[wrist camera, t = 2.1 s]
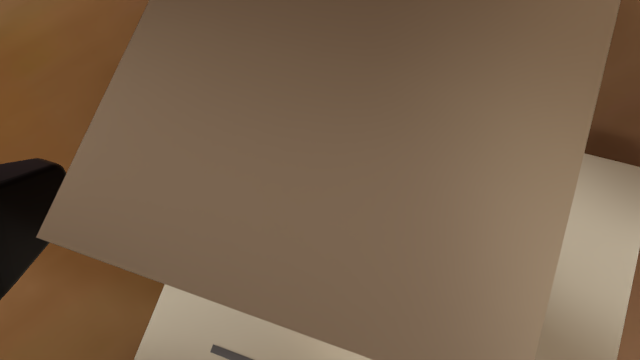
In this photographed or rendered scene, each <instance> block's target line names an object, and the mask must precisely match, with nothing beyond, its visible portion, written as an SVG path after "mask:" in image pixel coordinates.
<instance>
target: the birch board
mask: <svg viewBox="0 0 640 360" xmlns="http://www.w3.org/2000/svg"><path fill="white" fill-rule="evenodd" d="M639 248H640V167H638V166H634V165H629V164H625V163H621V162H617V161H613V160H609V159H605V158H601V157H597V156H593V155H589V154H585V153H584V156H583V160H582V164H581V169H580V173H579V177H578V181H577V185H576V189H575V194H574V198H573V202H572V206H571V210H570V214H569V219H568V223H567V227H566V231H565V235H564V239H563V244H562V248H561V252H560V256H559V260H558V264H557V269H556V273H555V277H554V281H553V285H552V289H551V294H550V298H549V302H548V306H547V310H546V314H545V319H544V323H543V327H542V331H541V335H540V339H539V344H538V348H537V352H536V356H535V360H617V356H618V351H619V346H620V341H621V336H622V331H623V327H624V322H625V317H626V312H627V307H628V302H629V297H630V292H631V288H632V283H633V278H634V273H635V268H636V263H637V258H638V253H639ZM134 360H372V359H370V358H367V357H364V356H361V355H359V354H356V353H353V352H350V351H348V350H345V349H342V348H339V347H337V346H334V345H331V344H328V343H325V342H323V341H320V340H317V339H314V338H312V337H309V336H306V335H303V334H301V333H298V332H295V331H292V330H290V329H287V328H284V327H281V326H279V325H276V324H273V323H270V322H268V321H265V320H262V319H259V318H257V317H254V316H251V315H248V314H246V313H243V312H240V311H237V310H235V309H232V308H229V307H226V306H224V305H221V304H218V303H215V302H213V301H210V300H207V299H204V298H202V297H199V296H196V295H193V294H191V293H188V292H185V291H182V290H180V289H177V288H174V287H171V286H169V285H166V284H165V285H164V288H163V290H162V293H161V295H160V297H159V300H158V302H157V305H156V307H155V310H154V312H153V314H152V317H151V319H150V322H149V324H148V327H147V329H146V331H145V334H144V336H143V339H142V341H141V344H140V346H139V348H138V351H137V353H136V356H135V358H134Z"/></svg>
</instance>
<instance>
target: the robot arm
mask: <svg viewBox="0 0 640 360" xmlns="http://www.w3.org/2000/svg"><path fill="white" fill-rule="evenodd" d="M65 176H66V172H65V170H64V168H63V167H62V166H61V165H59V164H57V163H53V162H50V161H47V160H44V159H39V158H35V159H29V160H23V161H17V162H11V163H5V164H0V300H1V298H2V297H3V296H4V295H5V294H6V293H7V292H8V291H9V290H10V289H11V288H12V286H13V285H14V284H15V283H16V282H17V281H18V279H19V278H20V277H21V276H22V275H23V274H24V272H25V271H26V270H27V269H28V268H29V266H30V265H31V264H32V263H33V262H34V260H35V259H36V258H37V257H38V256H39V254H40V253H41V252H42V251H43V250H44V249H45V247H46V246H47V245H48V244H49V243H50V242H47V241H45V240H42V239H39V238H36V236H37V234H38V232H39V230H40V228H41V226H42V224H43V222H44V220H45V218H46V216H47V213H48V211H49V209H50V207H51V205H52V203H53V201H54V199H55V197H56V195H57V193H58V190H59V188H60V186H61V184H62V182H63V180H64V178H65Z"/></svg>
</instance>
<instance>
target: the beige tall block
mask: <svg viewBox="0 0 640 360" xmlns="http://www.w3.org/2000/svg"><path fill="white" fill-rule="evenodd" d="M620 2H621V0H149V2H148V4H147V7H146V9H145V11H144V13H143V15H142V17H141V19H140V21H139V23H138V25H137V27H136V29H135V32H134V34H133V36H132V38H131V40H130V42H129V44H128V46H127V48H126V50H125V52H124V55H123V57H122V59H121V61H120V63H119V65H118V67H117V69H116V71H115V73H114V75H113V78H112V80H111V82H110V84H109V86H108V88H107V90H106V92H105V94H104V96H103V98H102V101H101V103H100V105H99V107H98V109H97V111H96V113H95V115H94V117H93V119H92V121H91V124H90V126H89V128H88V130H87V132H86V134H85V136H84V138H83V140H82V142H81V144H80V147H79V149H78V151H77V153H76V155H75V157H74V159H73V161H72V163H71V165H70V167H69V170H68V172H67V174H66V176H65V178H64V180H63V182H62V184H61V186H60V188H59V190H58V193H57V195H56V197H55V199H54V201H53V203H52V205H51V207H50V209H49V211H48V213H47V216H46V218H45V220H44V222H43V224H42V226H41V228H40V230H39V232H38V234H37V236H36V238H39V239H42V240H45V241H47V242H50V243H53V244H56V245H58V246H61V247H64V248H67V249H69V250H72V251H75V252H78V253H80V254H83V255H86V256H89V257H91V258H94V259H97V260H100V261H102V262H105V263H108V264H111V265H113V266H116V267H119V268H122V269H124V270H127V271H130V272H133V273H135V274H138V275H141V276H144V277H147V278H149V279H152V280H155V281H158V282H160V283H163V284H166V285H169V286H171V287H174V288H177V289H180V290H182V291H185V292H188V293H191V294H193V295H196V296H199V297H202V298H204V299H207V300H210V301H213V302H215V303H218V304H221V305H224V306H226V307H229V308H232V309H235V310H237V311H240V312H243V313H246V314H248V315H251V316H254V317H257V318H259V319H262V320H265V321H268V322H270V323H273V324H276V325H279V326H281V327H284V328H287V329H290V330H292V331H295V332H298V333H301V334H303V335H306V336H309V337H312V338H314V339H317V340H320V341H323V342H325V343H328V344H331V345H334V346H337V347H339V348H342V349H345V350H348V351H350V352H353V353H356V354H359V355H361V356H364V357H367V358H370V359H372V360H535V356H536V352H537V348H538V344H539V339H540V335H541V331H542V327H543V323H544V319H545V314H546V310H547V306H548V302H549V298H550V294H551V289H552V285H553V281H554V277H555V273H556V269H557V264H558V260H559V256H560V252H561V248H562V244H563V239H564V235H565V231H566V227H567V223H568V219H569V214H570V210H571V206H572V202H573V198H574V194H575V189H576V185H577V181H578V177H579V173H580V169H581V164H582V160H583V156H584V152H585V148H586V144H587V139H588V135H589V131H590V127H591V123H592V119H593V114H594V110H595V106H596V102H597V98H598V94H599V89H600V85H601V81H602V77H603V73H604V69H605V64H606V60H607V56H608V52H609V48H610V44H611V39H612V35H613V31H614V27H615V23H616V19H617V14H618V10H619V6H620Z"/></svg>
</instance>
